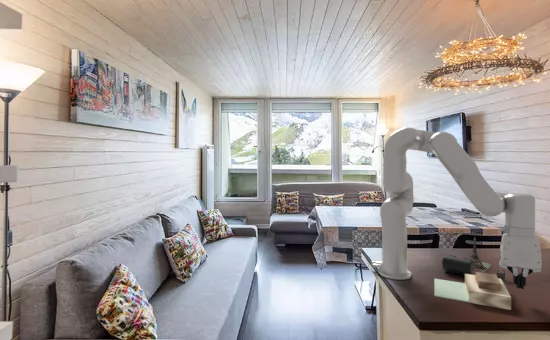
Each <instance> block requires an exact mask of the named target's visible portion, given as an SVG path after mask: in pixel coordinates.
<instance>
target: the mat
mask: <svg viewBox="0 0 550 340" xmlns="http://www.w3.org/2000/svg"><path fill="white" fill-rule="evenodd" d="M433 280H434V282H433V285H434V286H433V288H434V289H433V290H434V296H433V297H435V298H442V299H448V300H453V301H458V302H465V303H469V299H468V295H467V291H466V286H465V282H459V281H453V280H447V279H446V280H445V279H441V278H434V279H433Z"/></svg>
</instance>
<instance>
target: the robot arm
mask: <svg viewBox="0 0 550 340" xmlns="http://www.w3.org/2000/svg"><path fill="white" fill-rule="evenodd" d="M383 148H384V152H383V153H384V154H383V179H382V181H383V183H382V184H383V185H382V186H383V188H384V190H385V191H386V192H387V193H388V194H389V198H387V199H385V200H384V201H383V202H382V204H381V206H380V208H379V209H380V210H379V213H380V214H379V215H380V220H381V221H380V222H381V248H382V249H381V254H382V255H381V258H382V259H381V260H379V261H375V260H371V262H370V264H371V266H373V268H378V270H377V272H378V274H379V275H380V276H382V277H384V278H387V279H390V280H397V281H398V280H400V281H401V280H402V281H403V280H408V279H411V278H412V272H411V271H410V270H409V269H408V228H407V221H406V220H407V219H406V218H407V217H408V216H409V215H410V214H411V213H412V211H413V207H414V206H413V205H414V180H413V177H412V176H411V174H410V173H409V172H408V171H407V151H408V150H410V151H420V152H425V153H429V154H430V153H431V154H433V155H434V156H435V157H436V158H437V160H438V161H439V162H440V163H441V164H442V166H444V168H445V170H446V171H447V172H448V173H449V175H451V177H452V179H453V180H454V182H455V183H456V184H457V185H458V187H459V189H460V190H461V191H462V193H463V194H464V195H465V196H466V198H467V199H468V200H469V201H470V203H471V204H472V206H474V208H475V209H476V210H477V211H478V212H479V213H480V214H481V215H483V216H486V217H493V218H494V217H496V216H497V217H498V216H499V215H501V214H502V213H504V214H505V215H504V220H505V221H504V223H505V224H504V225H503V226H499V231H501V232H503V234H502V236H501V241H500V247H499V263H498V266H499V267H500V268H502V269H504V270H505V269H506V270H508V271H509V272H510V273H511V274H512V282H513V283H512V284H513V285H515V287H516V289H521V290H524V287H526V286H527V277H528V276H529V275H531V274H532V273H541V272H542V263H543V262H542V251H541V243H540V239H539V237H538V236H536V198H535V196H534V195H533V194H530V193H529V194H528V193H520V192H518V193H516V192H515V193H505V192H499V191H496V190H494V188H493V187H491V185H490V184H489V183H488V182H487V180H486V179H485V178H484V176H483V175H482V173H481V172H480V170H479V167H478V165H477V164H476V162H475V160H474V159H472V157H471V156H470V155H469V154H468V153H467V152H466V150H465V149H464V148H463V147H462V146H461V144H460V143H459V142H458V140H457V138H456V136H455V135H453V134H451V133H450V132H447V131H438V132H437V131H430V130H423V129H422V130H421V129H417V128H414V127H408V126H407V127H403V128H399V129H397V130H395V131H394V132H393V133H391V134H390V135H389V136H388V138H387V139H386V140H385V144H384V147H383ZM519 268H520V272H518V269H519Z"/></svg>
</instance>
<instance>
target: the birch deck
mask: <svg viewBox="0 0 550 340" xmlns="http://www.w3.org/2000/svg"><path fill="white" fill-rule="evenodd" d="M498 279H499V278H498ZM499 281H500V283H501V292H500V291H494V290H488V289H481V288H479V287H478V284H477V281H476V274H473V275H470V274H465V276H464V283H465V286H466V291H467V295H468V299H469V302H468V303H470V304H475V305H481V306H487V307H492V308H497V309H504V310H508V311H509V310H510V311H511V310H512V296H511V294H510V292H509V291H508V289H507V287H506V284H504V283H503V281H502V279H499Z"/></svg>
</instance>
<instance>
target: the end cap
mask: <svg viewBox="0 0 550 340" xmlns="http://www.w3.org/2000/svg"><path fill="white" fill-rule="evenodd" d="M441 261H442V263H441V264H442V266H441V267H442V270H443V271H444V272H446V273H451V274H455V275H458V276H464V277H465V274H470V275H474V273H473V271H474V268H475V267H472V264H473V263H474V262H473V260H472V259H470V257H469V258H468V257H463V258H461V257H457V255H452V254H449V255H443V258H442V260H441Z"/></svg>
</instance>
